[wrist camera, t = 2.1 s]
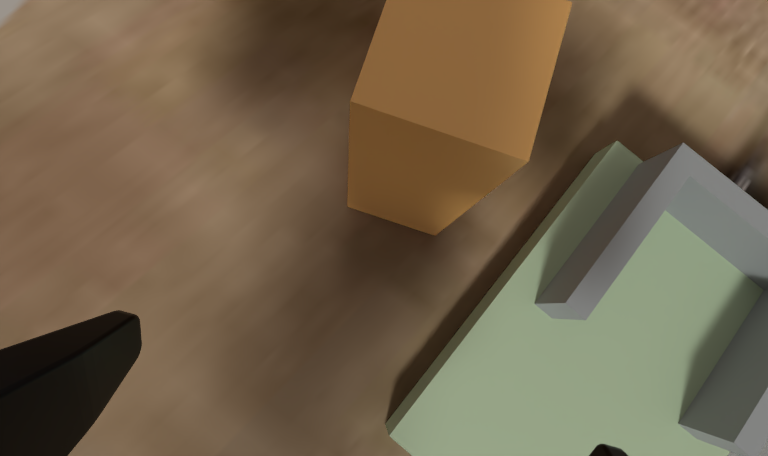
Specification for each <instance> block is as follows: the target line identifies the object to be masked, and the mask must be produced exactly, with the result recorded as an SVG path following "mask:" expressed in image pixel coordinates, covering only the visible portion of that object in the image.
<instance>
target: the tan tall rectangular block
mask: <svg viewBox="0 0 768 456" xmlns="http://www.w3.org/2000/svg"><path fill="white" fill-rule="evenodd" d="M571 6H572V2H570V1H567V0H386V3H385V5H384V8H383V11H382V14H381V17H380V19H379V22H378V25H377V28H376V30H375V33H374V36H373V39H372V42H371V44H370V47H369V50H368V53H367V55H366V58H365V61H364V64H363V67H362V69H361V72H360V75H359V78H358V81H357V83H356V86H355V89H354V92H353V94H352V97H351V100H350V123H349V159H348V195H347V207H349V208H352V209H355V210H359V211H362V212H365V213H368V214H371V215H374V216H377V217H380V218H383V219H386V220H389V221H392V222H395V223H398V224H401V225H404V226H407V227H410V228H413V229H416V230H419V231H422V232H425V233H428V234H431V235H434V236H435V235H437V234H438V233H439V232H440V231H442V230H443V229H444V228H446V227H447V226H448V225H449V224H451V223H452V222H453V221H454V220H456V219H457V218H458V217H459V216H461V215H462V214H463V213H464V212H466V211H467V210H468V209H469V208H471V207H472V206H473V205H475V204H476V203H477V202H478V201H480V200H481V199H482V198H483V197H485V196H486V195H487V194H488V193H490V192H491V191H492V190H493V189H495V188H496V187H497V186H499V185H500V184H501V183H502V182H504V181H505V180H506V179H507V178H509V177H510V176H511V175H512V174H514V173H515V172H516V171H517V170H519V169H520V168H521V167H523V166H524V165H525V164H526V163H528V162H529V158H530V155H531V151H532V148H533V144H534V140H535V137H536V133H537V129H538V126H539V122H540V118H541V115H542V111H543V108H544V104H545V100H546V97H547V93H548V89H549V86H550V82H551V78H552V75H553V71H554V68H555V64H556V60H557V57H558V53H559V49H560V46H561V42H562V39H563V35H564V31H565V28H566V24H567V20H568V17H569V13H570V9H571Z"/></svg>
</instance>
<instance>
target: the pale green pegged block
mask: <svg viewBox="0 0 768 456" xmlns="http://www.w3.org/2000/svg"><path fill="white" fill-rule="evenodd" d="M385 425H386V428H387V431H388V434H389V436H390V437H391V438H392V439H393V440H395V441H396V442H397V443H398V444H399V445H400V446H402V447H403V448H404V449H405V450H406V451H407V452H408V453H410V454H411V455H412V456H589V455H590V453H591V452H592V451H593V450H594V448H595V447H596V446H597V445H599V444H607V445H610V446H614V447H617V448H620V449H622V450H623V451H624V452H625V453H626V454H627V455H628V456H728V454H729V453H730V452H733V453H736V454H738V455H741V456H758V455H759V454H760V452H761V450H762V448H763V447H764V445H765V443H766V442H767V440H768V210H767V209H766V208H765V207H763V206H762V205H761V204H760V203H758V202H757V201H756V200H755V199H753V198H752V197H751V196H750V195H748V194H747V193H746V192H745V191H743V190H742V189H741V188H740V187H738V186H737V185H736V184H735V183H733V182H732V181H731V180H730V179H728V178H727V177H726V176H725V175H723V174H722V173H721V172H720V171H718V170H717V169H716V168H715V167H713V166H712V165H711V164H710V163H708V162H707V161H706V160H705V159H703V158H702V157H701V156H700V155H698V154H697V153H696V152H695V151H693V150H692V149H691V148H690V147H688V146H687V145H686V144H685V143H681V144H679V145H677V146H675V147H673V148H671V149H669V150H667V151H665V152H663V153H661V154H659V155H657V156H655V157H653V158H650V159H648V160H646V161H644V162H643V161H642V160H641V159H640V158H638V157H637V156H636V155H635V154H633V153H632V152H631V151H630V150H628V149H627V148H626V147H625V146H623V145H622V144H621V143H620V142H618V141H617V140H616V141H615V142H613V143H612V144H610V145H608V146H607V147H605V148H603V149H602V150H600V151H599V152H597V153H595V154H594V156H593V157H592V158H591V160H590V161H589V162H588V163H587V165H586V166H585V167H584V169H583V170H582V171H581V172H580V174H579V175H578V176H577V178H576V179H575V180H574V181H573V183H572V184H571V185H570V187H569V188H568V189H567V190H566V192H565V193H564V194H563V196H562V197H561V198H560V199H559V201H558V202H557V203H556V205H555V206H554V207H553V208H552V210H551V211H550V212H549V214H548V215H547V216H546V218H545V219H544V220H543V221H542V223H541V224H540V225H539V227H538V228H537V229H536V230H535V232H534V233H533V234H532V236H531V237H530V238H529V239H528V241H527V242H526V243H525V245H524V246H523V247H522V248H521V250H520V251H519V252H518V254H517V255H516V256H515V257H514V259H513V260H512V261H511V263H510V264H509V265H508V266H507V268H506V269H505V270H504V272H503V273H502V274H501V275H500V277H499V278H498V279H497V281H496V282H495V283H494V284H493V286H492V287H491V288H490V290H489V291H488V292H487V293H486V295H485V296H484V297H483V299H482V300H481V301H480V303H479V304H478V305H477V306H476V308H475V309H474V310H473V312H472V313H471V314H470V315H469V317H468V318H467V319H466V321H465V322H464V323H463V324H462V326H461V327H460V328H459V330H458V331H457V332H456V333H455V335H454V336H453V337H452V339H451V340H450V341H449V342H448V344H447V345H446V346H445V348H444V349H443V350H442V351H441V353H440V354H439V355H438V357H437V358H436V359H435V360H434V362H433V363H432V364H431V366H430V367H429V368H428V369H427V371H426V372H425V373H424V375H423V376H422V377H421V378H420V380H419V381H418V382H417V384H416V385H415V386H414V388H413V389H412V390H411V391H410V393H409V394H408V395H407V397H406V398H405V399H404V400H403V402H402V403H401V404H400V406H399V407H398V408H397V409H396V411H395V412H394V413H393V415H392V416H391V417H390V418H389V420H388V421H387V422H386V424H385Z"/></svg>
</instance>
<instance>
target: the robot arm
mask: <svg viewBox="0 0 768 456" xmlns="http://www.w3.org/2000/svg"><path fill="white" fill-rule="evenodd" d="M141 346H142V341H141V328H140V319H139V317H138V316H137V315H135V314H131V313H128V312H124V311H120V310H117V311H113V312H110V313H107V314H104V315H101V316H98V317H95V318H92V319H89V320H86V321H83V322H80V323H77V324H75V325H72V326H69V327H66V328H63V329H60V330H57V331H54V332H51V333H48V334H45V335H42V336H39V337H36V338H33V339H30V340H27V341H24V342H21V343H18V344H16V345H13V346H10V347H7V348H4V349H1V350H0V456H68V454H69V453H70V452H71V451H72V450H73V448H74V447H75V446H76V445H77V443H78V442H79V441H80V440H81V439H82V437H83V436H84V435H85V434H86V433H87V431H88V430H89V429H90V428H91V426H92V425H93V424H94V422H95V421H96V420H97V418H98V417H99V415H100V414H101V412H102V411H103V409H104V408H105V406H106V405H107V403H108V402H109V400H110V399H111V397H112V396H113V394H114V393H115V391H116V390H117V388H118V387H119V385H120V384H121V382H122V381H123V379H124V378H125V376H126V375H127V373H128V372H129V370H130V369H131V367H132V366H133V364H134V363H135V361H136V360H137V358H138V356H139V354H140V351H141ZM589 456H628V455H627V454H626V453H625V452H624V451H623V450H622V449H620V448H617V447H614V446H610V445H607V444H599V445H597V446H596V447H595V448H594V450H593V451H592V452H591V453H590V455H589Z"/></svg>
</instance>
